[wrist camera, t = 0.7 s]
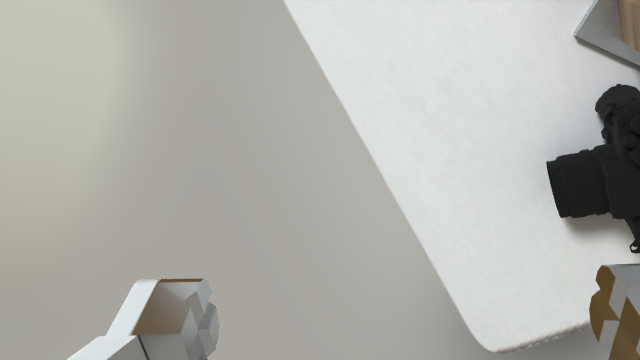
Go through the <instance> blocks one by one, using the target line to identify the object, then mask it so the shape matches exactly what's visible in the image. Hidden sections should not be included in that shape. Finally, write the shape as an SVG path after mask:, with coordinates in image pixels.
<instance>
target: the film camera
mask: <svg viewBox="0 0 640 360" xmlns="http://www.w3.org/2000/svg"><path fill="white" fill-rule="evenodd" d="M595 111H596V112H598V114H599V115H600V116H601V118H602V119H603V121H604V129H603V130H602V131H601V133H602V137H603V138H604V139H607V144H605V145H600V146H596V147H594V149H593V150H590V151H589V150H588V149H586V150H581V151H580V152H579V153H575V154H568V155H563V156H559V157H557V159H556V160H555V161H550V162H549V161H547V162H546V163H547V171H548V175H549V179H550V184H551V188H552V192H553V196H554V200H555V203H556V207H557V210H558V212H559V216H560V217H561V218H563V217H568V216H571V217H572V218H579V217H585V216H588V215H593V214H596V215H601V214H605V213H607V212H610V213H611V215H612V217H613V218H616V219H625V220H626V222H627V224H628V225H629V227H630V229H631V231H632V233H633V235H634V237H635V240H634V242H633V243H632V244H631V245H630V250H631V252H632V253H636V254H637V253H640V91H639V90H638V89H637V88H636V87H632V86H628V85H621V84H617V85H616V86H614V87H611V88H610V89H608V90H607V91H606V92H604V93H603V95H602V96H601V97H600V98H599V99H598V101H597V103H596V107H595ZM632 245H633V246H634V247H638V248H637V249H636V250H632V249H631V247H632Z"/></svg>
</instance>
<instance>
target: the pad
mask: <svg viewBox="0 0 640 360" xmlns="http://www.w3.org/2000/svg"><path fill="white" fill-rule="evenodd" d="M573 35H574V36H576V37H578V38H580V39H583V40H585V41H587V42H589V43H591V44H593V45H595V46H598V47H600V48H602V49H604V50H606V51H608V52H611V53H613V54H615V55H617V56H619V57H621V58H624V59H626V60H628V61H630V62H632V63H634V64H637V65H639V66H640V52H638V51H636V50H635V49H633V48H632V47H630V46H628V45H627V44H625V43H624V42H623V37H622V30H621V24H620V17H619V11H618V4H617V0H595V1H594V3H593V4H592V6H591V7H590V9H589V10H588V12H587V14H586V15H585V17H584V18H583V20H582V21H581V23H580V24H579V26H578V28H577V29H576V31H575V32H574V34H573Z"/></svg>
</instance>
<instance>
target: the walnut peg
mask: <svg viewBox="0 0 640 360" xmlns="http://www.w3.org/2000/svg"><path fill="white" fill-rule="evenodd" d="M617 4H618V11H619V17H620V24H621V30H622V37H623V42H624V43H625V44H627V45H628V46H630V47H632V48H633V49H635V50H636V51H638V52H640V0H617Z"/></svg>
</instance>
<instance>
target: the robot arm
mask: <svg viewBox="0 0 640 360" xmlns="http://www.w3.org/2000/svg"><path fill="white" fill-rule="evenodd" d="M596 282H597V284H598V285H599V287H600V290H599V291H598V292H596V293H595V294H594V295H593V296H592V297H591V303H590V308H589V312H590V323H591V326H592V329H593V332H594V335H595V337H596V339H597V341H598V342H599V344H601V345H602V346H604V347H605V348H606V349H608V350H609V351H611V352H610V357H609V360H640V264H617V265H602V266H601V267H600V268H599V270H598V272H597V276H596ZM210 295H211V288H210V285H209V282H208V281H207V280H206V279H161V280H139V281H137V282H136V283H135V284H134V285H133V287H132V289H131V290H130V292H129V294H128V296H127V298H126V300H125V302H124V303H123V305H122V307H121V309H120V310H119V312H118V314H117V316H116V318H115V319H114V322H113V323H112V325H111V327H110V329H109V331H108V332H107V334H106V336H99V337H97V338H96V339H95V340H93V341H92V342H90V343H89V344H88V345H86V346H85V347H83V348H82V349H81V350H79V351H78V352H77V353H75V354H74V355H72V356H71V357H70V358H68V359H67V360H207V357H208V356H209V355H210V354H211V353H212V352H213V351H214V350H215V348H216V345H217V341H218V334H219V317H218V312H217V309H216V306H214V305H213V304H212V303H211V302H209V298H210Z"/></svg>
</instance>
